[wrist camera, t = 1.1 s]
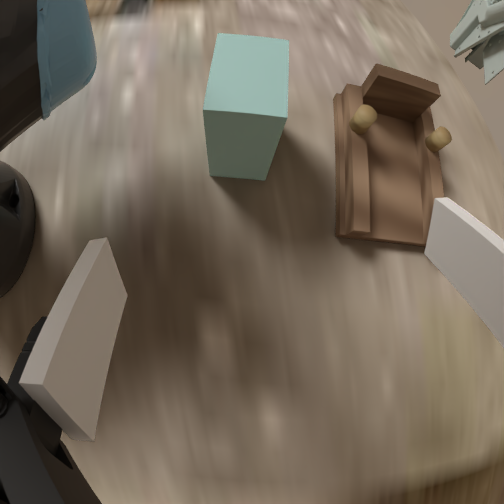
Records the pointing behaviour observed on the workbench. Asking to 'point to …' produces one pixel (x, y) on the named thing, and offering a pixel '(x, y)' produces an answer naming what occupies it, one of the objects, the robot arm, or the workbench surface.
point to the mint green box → (245, 104)
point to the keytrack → (387, 158)
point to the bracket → (482, 36)
